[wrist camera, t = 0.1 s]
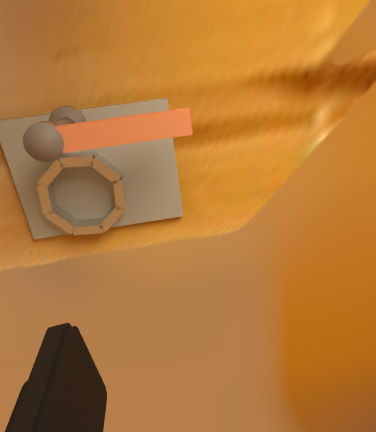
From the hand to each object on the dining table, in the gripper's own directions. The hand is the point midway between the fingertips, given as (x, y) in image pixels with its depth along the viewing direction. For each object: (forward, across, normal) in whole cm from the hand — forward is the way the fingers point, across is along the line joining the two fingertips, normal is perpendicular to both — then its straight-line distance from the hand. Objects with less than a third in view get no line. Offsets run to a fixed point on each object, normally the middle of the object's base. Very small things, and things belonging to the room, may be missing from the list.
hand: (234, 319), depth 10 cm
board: (+37, +10, +3) cm, 39 cm away
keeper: (+27, +6, -3) cm, 28 cm away
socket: (+36, +13, +5) cm, 38 cm away
